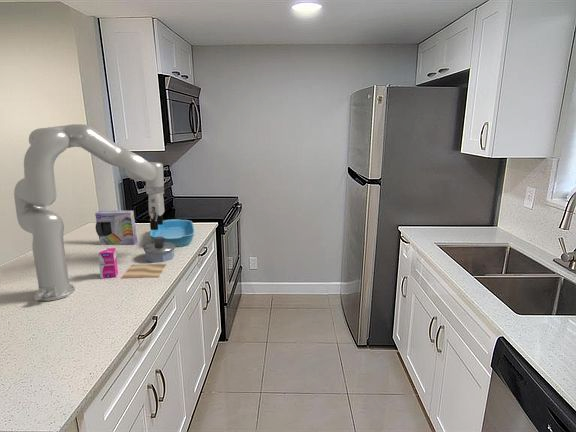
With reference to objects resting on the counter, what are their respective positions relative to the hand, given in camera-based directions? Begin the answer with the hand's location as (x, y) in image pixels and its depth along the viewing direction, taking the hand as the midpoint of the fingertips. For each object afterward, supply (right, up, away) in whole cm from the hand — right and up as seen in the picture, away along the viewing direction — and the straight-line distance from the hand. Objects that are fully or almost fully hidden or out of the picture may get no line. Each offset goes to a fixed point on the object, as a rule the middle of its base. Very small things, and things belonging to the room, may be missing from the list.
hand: (156, 227), depth 168 cm
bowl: (0, -15, +4) cm, 16 cm away
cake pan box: (-29, -10, +25) cm, 39 cm away
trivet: (-1, -19, -11) cm, 22 cm away
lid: (0, -10, +3) cm, 11 cm away
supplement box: (-14, -20, -17) cm, 29 cm away
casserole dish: (-3, -8, +33) cm, 34 cm away
